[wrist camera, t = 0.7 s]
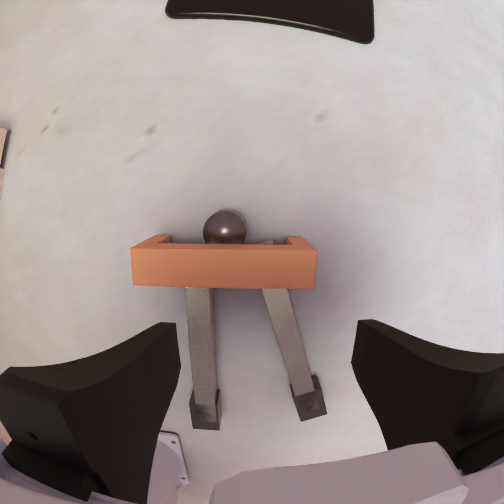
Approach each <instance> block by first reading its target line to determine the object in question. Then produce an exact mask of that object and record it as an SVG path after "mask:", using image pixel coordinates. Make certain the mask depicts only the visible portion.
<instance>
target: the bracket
mask: <svg viewBox="0 0 504 504" xmlns="http://www.w3.org/2000/svg"><path fill="white" fill-rule="evenodd" d="M6 133H7V129H4V128H0V163H1V157H2V152H3V147H4V142H5V138H6ZM3 174H4V169H2V168H0V198H1V189H2V181H3Z"/></svg>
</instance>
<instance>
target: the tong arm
mask: <svg viewBox="0 0 504 504" xmlns="http://www.w3.org/2000/svg"><path fill="white" fill-rule="evenodd" d="M255 244H260V245H274V243H273V241H272V239H269V240H265V241H262V242H259V243H255ZM261 290H262V293H263V296H264V299H265V302H266V305H267V309H268V312H269V315H270V318H271V321H272V324H273V328H274V331H275V334H276V337H277V340H278V343H279V346H280V350H281V353H282V356H283V359H284V362H285V365H286V368H287V372H288V375H289V378H290V381H291V384H290V386H291V391H292V396H293V399H294V402H295V405H296V408H297V412H298V415H299V418H300V421H305V420H309V419H312V418H316V417H319V416H322V415H326V414H327V411H326V406H325V402H324V398H323V394H322V390H321V386H320V383H319V381H318V378H317V376H315V377H312V378H311V374H310V370H309V367H308V363H307V359H306V356H305V352H304V348H303V345H302V341H301V337H300V334H299V330H298V326H297V323H296V319H295V316H294V312H293V308H292V305H291V301H290V298H289V294H288V291H287V289H261Z"/></svg>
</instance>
